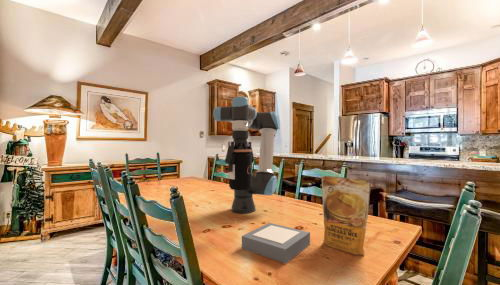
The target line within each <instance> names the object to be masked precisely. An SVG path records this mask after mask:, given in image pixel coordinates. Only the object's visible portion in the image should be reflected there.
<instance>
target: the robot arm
mask: <svg viewBox="0 0 500 285" xmlns="http://www.w3.org/2000/svg"><path fill="white" fill-rule="evenodd" d="M231 101H232V103H231V106H230V105H228V106H217V107H215V108H213V112H212V113H213V114H212V115H213V119H214V120H215V121H216V122H227V123H232V124H231V129H232V131H231V132H232V133H231V137H232V139H233V140H232V141H228V142H227V151H226V155H225V159H224V163H225V164H226V165H228V180H229V179H235V165H233V164H234V161H235V154H236V153H235V154H234V155H233V156H232V154H233V150H252V152H251V155H252V164H253V163H254V162H255V156H254V152H253V147H252V141H247V140H248V139H249V130H255V131H256V130H257V131H259V133H260V145H259V146H260V147H259V158H258V169H257V171H256V172H255V175H254V173H252V187H251V188H250V189H248V190H233V194H234V195H233V196H234V197H233V202H232V205H231V212H233V213H235V214H236V213H237V214H249V213H250V214H252V213H253V212H255V211H256V205H255V201H254V198H253V196H254V195H257V196H259V195H260V196H273V195H274V194H275V192H276V191H277V185H278V178H277V176H276V175H275V172H274V171H273V164H274V163H273V161H274V148H275V135H276V134H277V133H278V130H279V129H281V120H280V116H279V113H278V112H277V111H263V112H262V111H261V112H260V111H259V112H258V111H257V109H256V108H255V107H254V106H253V105H250V104H249V99H248V97H246V96H235V97H233V98H232V100H231Z"/></svg>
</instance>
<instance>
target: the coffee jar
mask: <svg viewBox="0 0 500 285" xmlns="http://www.w3.org/2000/svg"><path fill="white" fill-rule="evenodd" d="M252 151H253V149H252V150H233V154H232V156H233V155H234V154H235V153H236V154H235V161H234V164H233V165H235V179H229V178H228V186H229V189H230V190H233V191H234V190H248V189H250V188H251V187H252V174H253V163H252V155H251V152H252Z"/></svg>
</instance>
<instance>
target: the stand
mask: <svg viewBox="0 0 500 285" xmlns="http://www.w3.org/2000/svg"><path fill="white" fill-rule="evenodd" d="M310 245H311V232H310V231H305V230H300V229H298V228H292V227H288V226H285V225H282V224H281V225H280V224H276V223H271V222H268V223H266V224H264V225H262V226H260V227H258V228H256V229H253V230H252V231H250V232H247V233H245V234H243V235H241V249H242V250H245V251H247V250H248V251H247V252H250V253H253V254H256V255H260V256H262V257H265V258H268V259H269V260H270V259H271V260H273V261H276V262H279V263H282V264H285V265H287V264H288V263H289V262H290V261H292V260H293V259H294V258H295V257H296V256H298V255H299V254H300V253H301V252H302V251H303V252H304V250H306V248H308V247H309V246H310Z"/></svg>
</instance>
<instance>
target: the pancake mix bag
mask: <svg viewBox="0 0 500 285" xmlns="http://www.w3.org/2000/svg"><path fill="white" fill-rule="evenodd" d="M320 179H321V194H322V196H321V198H322V211H323V212H322V213H323V225H324V226H323V227H324V228H323V229H324V230H323V232H324V234H323V235H324V236H323V242H322V243H323V244H326V246H327V247H329V248H332V249H335V250H337V251H341V252H345V253H346V254H351V255H354V256H359V255H360V256H365V251H364V250H365V249H364V244H365V239H366V234H367V233H366V231H367V223H368V219H369V218H368V217H369V216H368V215H369V211H370V196H371V190H372V188H371V187H372V186H371V182H368V180H367V179H362V178H361V179H360V178H350V177H349V178H348V177H344V176H343V177H342V176H332V175H331V176H329V175H324V176H322V177H320Z"/></svg>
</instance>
